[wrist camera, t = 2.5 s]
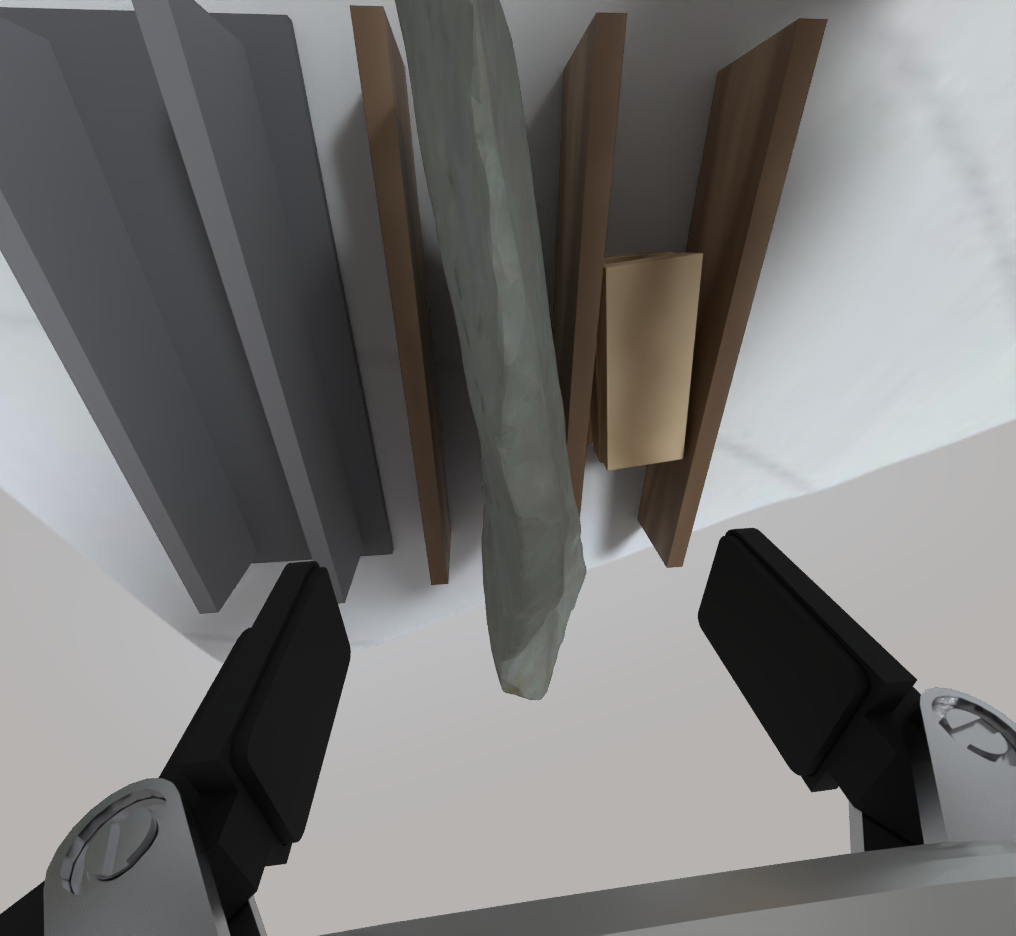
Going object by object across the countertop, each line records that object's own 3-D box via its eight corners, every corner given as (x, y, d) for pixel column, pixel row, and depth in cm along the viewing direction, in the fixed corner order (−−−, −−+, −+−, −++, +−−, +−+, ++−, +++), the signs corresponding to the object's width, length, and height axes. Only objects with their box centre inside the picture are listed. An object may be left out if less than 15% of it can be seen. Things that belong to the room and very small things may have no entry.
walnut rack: (739, 72, 21) (827, 19, 16) (650, 518, 36) (682, 566, 30) (379, 65, 20) (349, 5, 15) (436, 532, 34) (431, 584, 29)
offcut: (684, 252, 22) (703, 253, 21) (669, 445, 28) (683, 458, 27) (595, 265, 22) (606, 267, 21) (599, 456, 28) (607, 470, 27)
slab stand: (292, 21, 19) (217, -73, 13) (393, 549, 35) (379, 610, 29) (-35, 12, 18) (-268, -93, 12) (221, 560, 34) (172, 626, 28)
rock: (557, 507, 34) (652, 784, 17) (484, 520, 34) (503, 811, 17) (507, 91, 21) (707, -621, 4) (388, 113, 21) (14, -492, 4)
